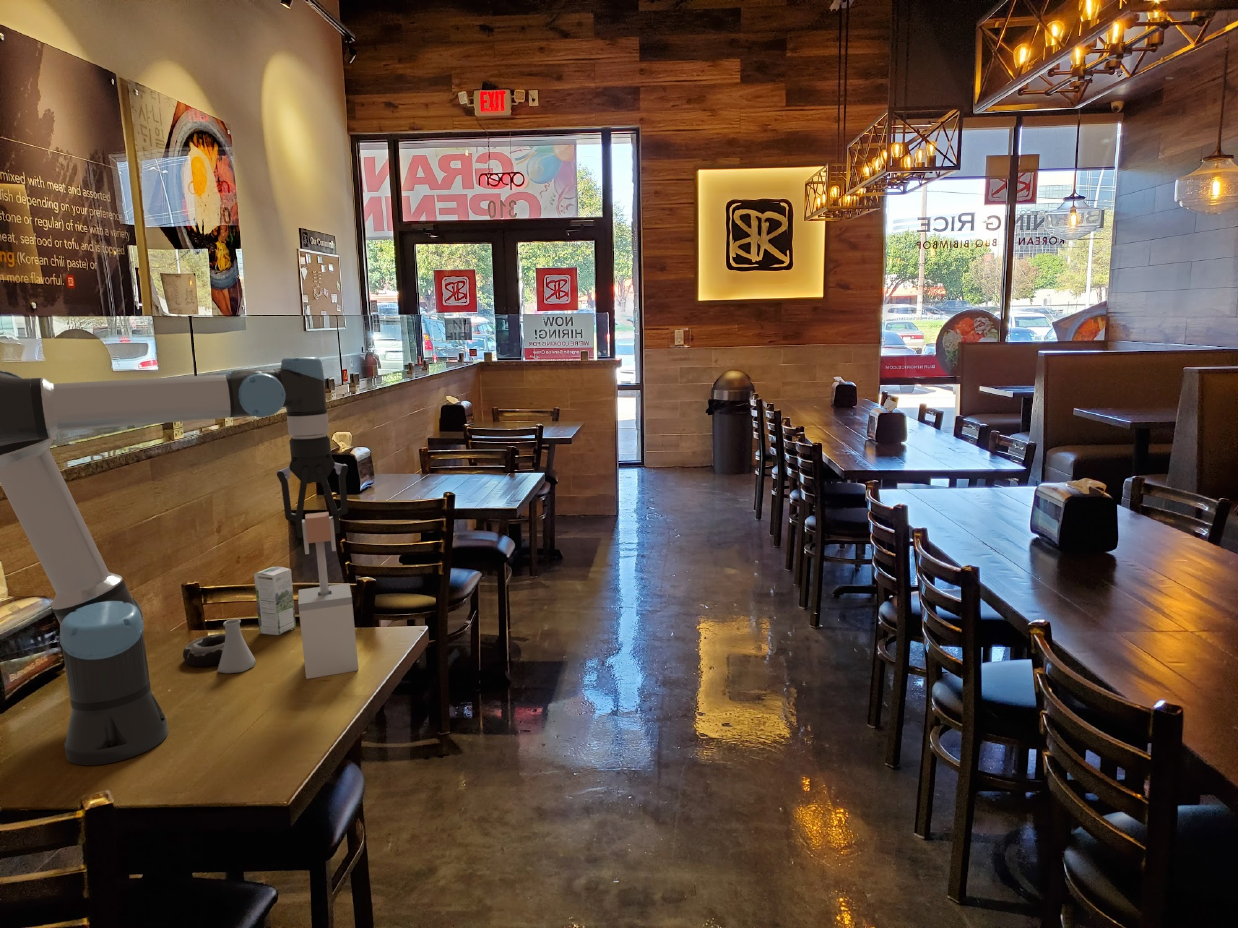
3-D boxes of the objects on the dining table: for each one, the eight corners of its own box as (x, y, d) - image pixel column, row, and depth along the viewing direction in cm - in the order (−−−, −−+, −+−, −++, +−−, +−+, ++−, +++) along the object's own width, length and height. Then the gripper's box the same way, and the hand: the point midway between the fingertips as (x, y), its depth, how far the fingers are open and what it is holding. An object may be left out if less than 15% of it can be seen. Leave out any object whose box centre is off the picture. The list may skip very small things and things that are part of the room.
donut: (214, 645, 190) (212, 628, 189) (256, 651, 186) (254, 633, 185) (171, 666, 179) (168, 648, 178) (215, 672, 175) (212, 653, 174)
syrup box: (277, 625, 201) (271, 565, 199) (297, 627, 199) (291, 567, 196) (259, 633, 196) (252, 572, 193) (279, 636, 194) (272, 574, 191)
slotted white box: (358, 670, 173) (351, 596, 170) (306, 678, 169) (298, 604, 167) (355, 652, 182) (349, 583, 179) (305, 660, 178) (298, 589, 176)
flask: (262, 660, 180) (257, 615, 178) (244, 674, 172) (239, 627, 171) (230, 660, 180) (224, 615, 179) (210, 674, 173) (205, 627, 172)
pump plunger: (338, 612, 172) (329, 516, 169) (315, 615, 171) (305, 518, 167) (337, 606, 176) (328, 511, 173) (314, 609, 175) (305, 514, 172)
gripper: (354, 430, 174) (364, 541, 178) (262, 437, 168) (274, 551, 172) (356, 434, 167) (366, 549, 171) (260, 441, 161) (273, 561, 165)
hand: (320, 550), depth 171 cm, fingers closed on pump plunger, 4 cm apart
